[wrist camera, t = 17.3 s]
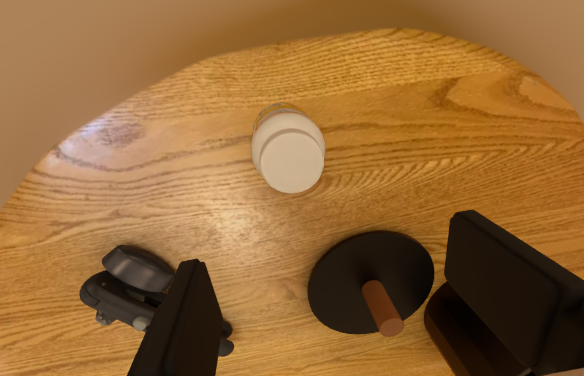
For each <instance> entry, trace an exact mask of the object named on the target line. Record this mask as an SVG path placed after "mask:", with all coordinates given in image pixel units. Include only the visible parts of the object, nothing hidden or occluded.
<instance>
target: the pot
mask: <svg viewBox="0 0 584 376" xmlns="http://www.w3.org/2000/svg"><path fill="white" fill-rule="evenodd" d="M424 323H425V327H426V330H427V331H428V333H429V335H430V337H431V339H432V340H433V342H434V343H435V345H436V346H437V348H438V350H439V351H440V353H441V354H442V356H443V357H444V359H445V361H446V362H447V364H448V365H449V367H450V368H451V370H452V372H453V373H454V375H455V376H536V375H535V374H534V372H533V371H532V370H531V369H530V368H529V367H528V366H525V365H523V364H521V363H520V362H519V361H518V360H517V359H516V357H515V356H514V355H513V354H512V353H511V352H510V351H509V350H508V349H507V347H506V346H505V345H504V344H503V343H502V342H501V341H500V340H499V339H498V337H497V336H496V335H495V334H494V333H493V332H492V331H491V330H490V329H489V327H488V326H487V325H486V324H485V323H484V322H483V321H482V320H481V318H480V317H479V316H478V315H477V314H476V313H475V312H474V311H473V310H472V308H471V307H470V306H469V305H468V304H467V303H466V302H465V301H464V300H463V298H462V297H461V296H460V295H459V294H458V293H457V292H456V291H455V290H454V288H453V287H452V286H451V285H450V284H449V283H448V282H446V283H445V284H443V285H442V286H441V287H440V288H439V289H438V290H437V291H436V292H435V294H434V295H433V296H432V298H431V299H430V301H429V303H428V305H427V307H426V310H425V314H424ZM555 373H559V372H558V371H557V370H556V372H555Z"/></svg>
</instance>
